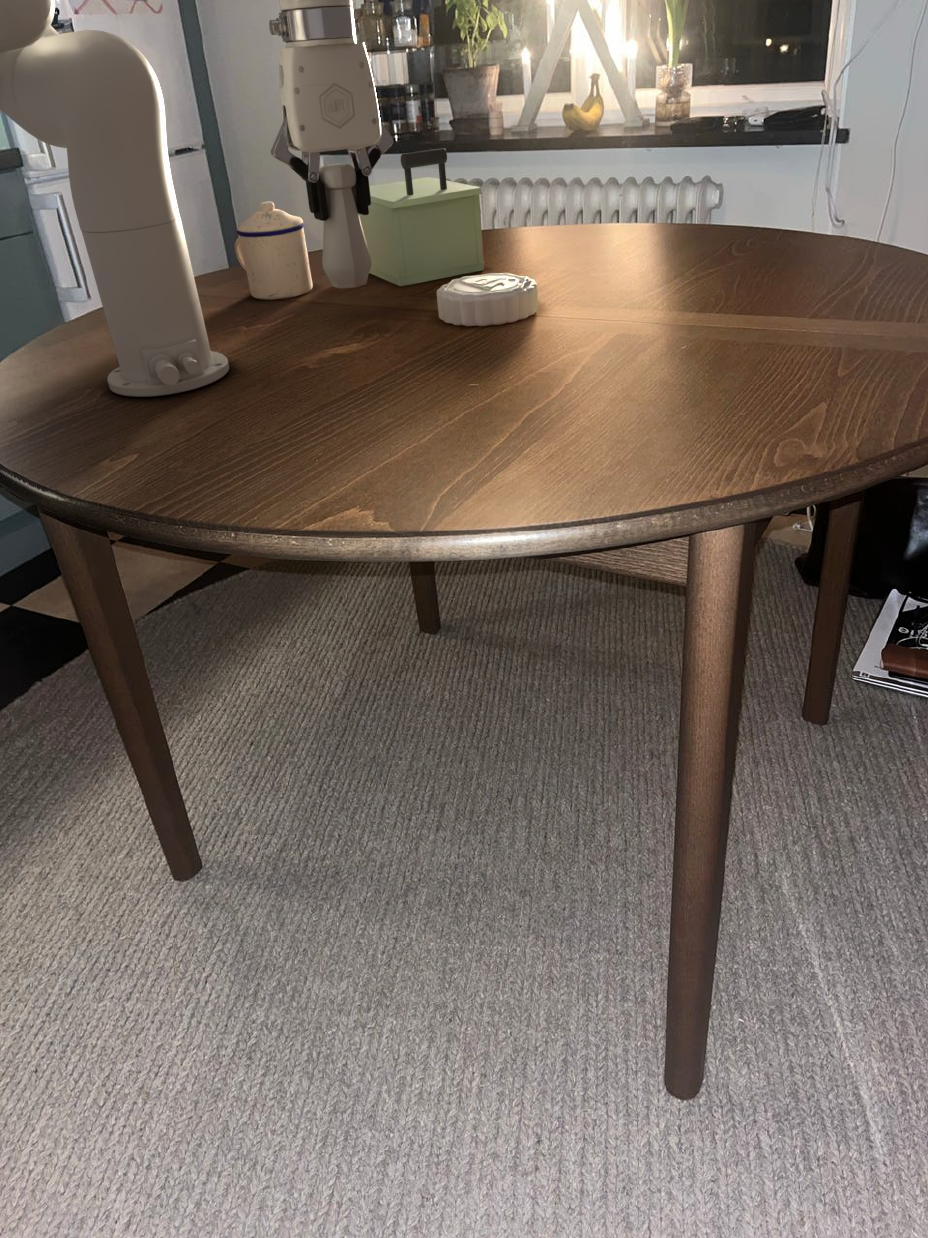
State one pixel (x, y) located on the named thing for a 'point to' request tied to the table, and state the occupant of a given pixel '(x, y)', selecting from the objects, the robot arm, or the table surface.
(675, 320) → the table surface
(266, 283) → the teacup with lid
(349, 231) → the salt shaker
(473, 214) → the green rectangular box
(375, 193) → the green lid with handle
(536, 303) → the mooncake
